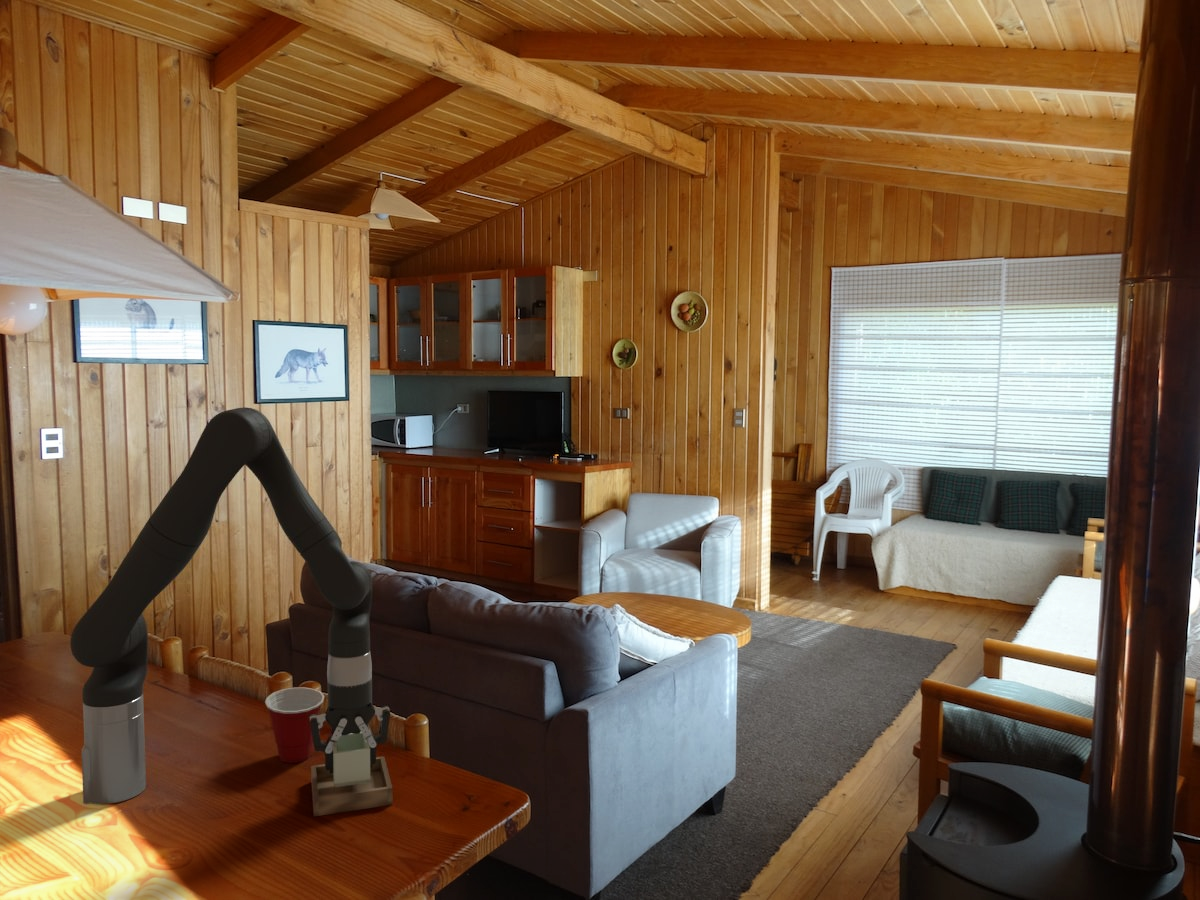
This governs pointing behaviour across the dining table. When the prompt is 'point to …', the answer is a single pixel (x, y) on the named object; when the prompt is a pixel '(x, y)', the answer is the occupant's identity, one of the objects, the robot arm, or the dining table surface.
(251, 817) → the dining table surface
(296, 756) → the plastic cup
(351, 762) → the box
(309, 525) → the robot arm
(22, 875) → the dining table surface
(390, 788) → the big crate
